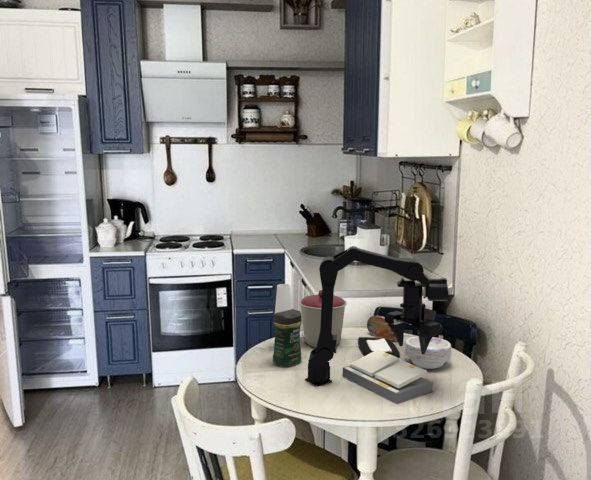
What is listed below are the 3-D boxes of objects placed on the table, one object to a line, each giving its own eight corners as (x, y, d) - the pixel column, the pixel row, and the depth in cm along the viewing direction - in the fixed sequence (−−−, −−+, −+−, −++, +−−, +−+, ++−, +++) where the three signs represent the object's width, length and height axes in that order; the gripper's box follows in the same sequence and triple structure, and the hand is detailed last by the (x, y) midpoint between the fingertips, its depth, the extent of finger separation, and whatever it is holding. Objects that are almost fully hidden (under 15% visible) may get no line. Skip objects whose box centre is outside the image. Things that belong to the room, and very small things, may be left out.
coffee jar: (285, 369, 184) (285, 315, 181) (269, 363, 190) (269, 311, 187) (305, 362, 191) (305, 310, 188) (290, 356, 196) (290, 306, 194)
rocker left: (372, 376, 170) (371, 372, 169) (351, 366, 178) (350, 363, 178) (399, 361, 176) (399, 357, 176) (378, 352, 184) (377, 349, 184)
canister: (289, 343, 210) (288, 289, 207) (322, 333, 222) (322, 282, 219) (322, 355, 197) (323, 298, 194) (356, 344, 209) (357, 290, 206)
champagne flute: (288, 352, 200) (288, 288, 197) (271, 350, 203) (271, 286, 199) (295, 346, 206) (295, 284, 203) (279, 344, 209) (279, 282, 206)
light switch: (403, 354, 194) (364, 351, 194) (402, 362, 195) (363, 359, 194) (391, 336, 214) (356, 333, 213) (391, 343, 214) (355, 340, 214)
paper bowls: (444, 356, 197) (445, 335, 195) (455, 372, 182) (456, 349, 180) (401, 356, 197) (402, 334, 196) (408, 372, 182) (409, 349, 181)
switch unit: (396, 403, 158) (397, 390, 158) (342, 376, 178) (342, 364, 178) (432, 391, 167) (432, 378, 166) (376, 366, 187) (377, 355, 186)
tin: (366, 334, 222) (366, 314, 221) (371, 332, 224) (371, 312, 223) (396, 343, 211) (396, 322, 209) (401, 341, 213) (401, 320, 212)
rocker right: (398, 388, 160) (398, 384, 160) (375, 377, 168) (374, 373, 168) (427, 374, 167) (426, 370, 166) (403, 364, 175) (402, 360, 175)
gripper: (454, 302, 164) (453, 352, 166) (408, 291, 179) (408, 337, 182) (429, 308, 158) (428, 360, 160) (383, 296, 173) (383, 344, 175)
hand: (412, 349), depth 170 cm, fingers open, 9 cm apart
